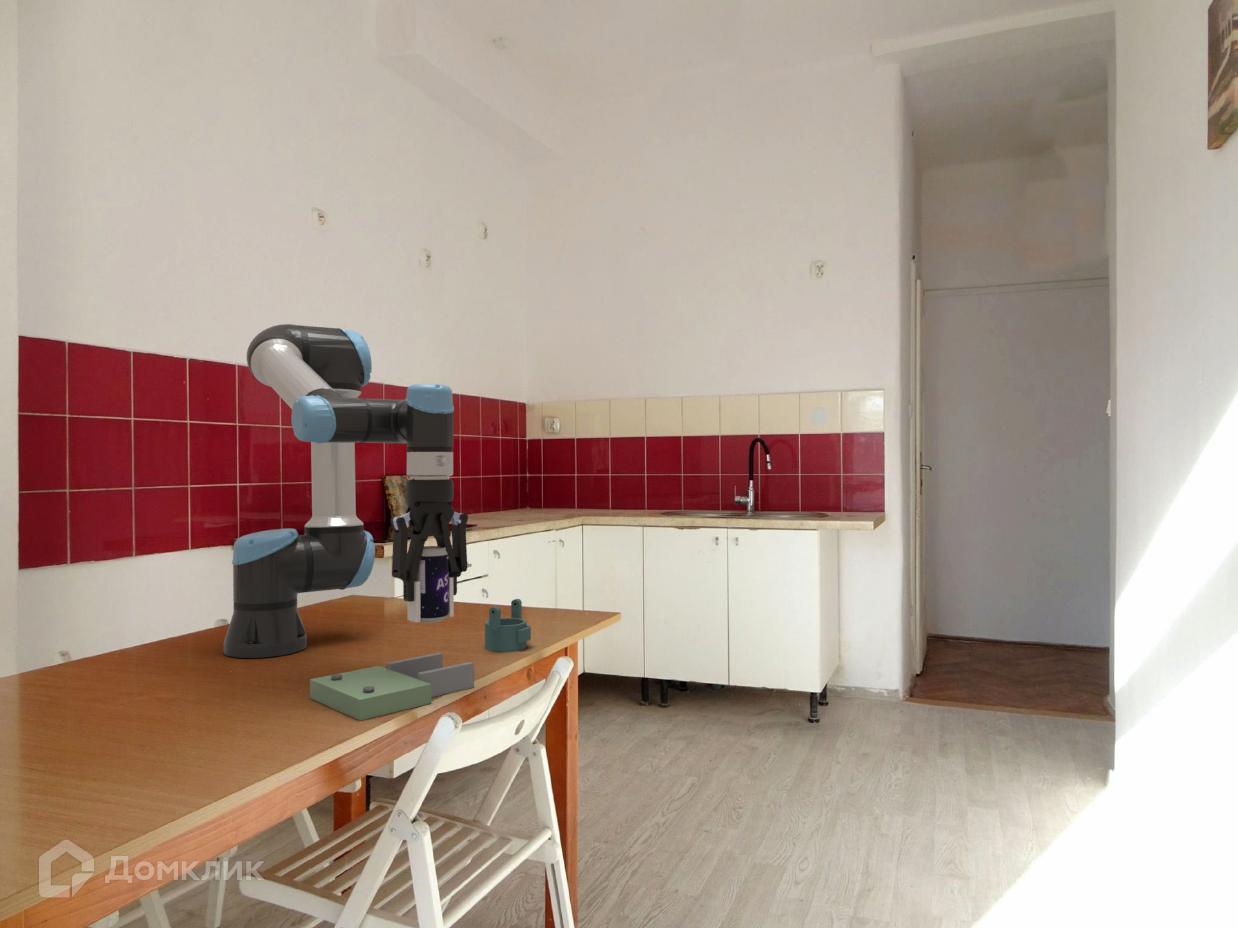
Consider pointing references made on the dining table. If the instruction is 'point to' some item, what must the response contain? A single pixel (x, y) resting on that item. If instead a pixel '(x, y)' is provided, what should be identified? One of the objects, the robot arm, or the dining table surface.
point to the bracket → (507, 630)
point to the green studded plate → (391, 686)
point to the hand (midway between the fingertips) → (430, 617)
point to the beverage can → (433, 584)
